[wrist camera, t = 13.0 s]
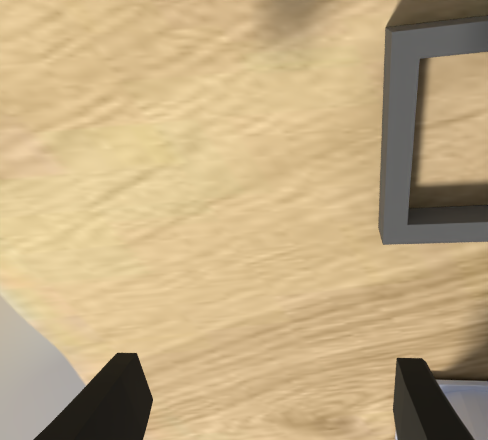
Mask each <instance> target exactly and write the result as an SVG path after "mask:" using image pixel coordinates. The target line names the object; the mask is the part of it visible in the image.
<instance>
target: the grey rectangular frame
mask: <svg viewBox="0 0 488 440" xmlns="http://www.w3.org/2000/svg"><path fill="white" fill-rule="evenodd" d="M479 52H488V15H486V16H478V17H470V18H461V19H453V20H444V21H436V22H427V23H419V24H411V25H402V26H394V27H386V30H385V58H384V87H383V115H382V143H381V171H380V199H379V227H378V228H379V232H380V235H381V239H382V243H383V245H386V244H421V243H456V242H488V205H478V206H455V207H432V208H409V196H410V182H411V169H412V155H413V142H414V129H415V115H416V102H417V88H418V75H419V61H420V59H421V58H431V57H440V56H450V55H459V54H469V53H479Z"/></svg>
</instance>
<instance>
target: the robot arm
mask: <svg viewBox="0 0 488 440" xmlns="http://www.w3.org/2000/svg"><path fill="white" fill-rule="evenodd" d="M152 402H153V398H152V395H151V392H150V389H149V386H148V384H147V381H146V378H145V375H144V372H143V369H142V367H141V364H140V361H139V358H138V355H137V353H117V354H116V355H115V356H114V357H113V358H112V359H111V360H110V361H109V362H108V363H107V364H106V365H105V366H104V367H103V368H102V370H101V371H100V372H99V373H98V374H97V375H96V376H95V377H94V378H93V379H92V380H91V381H90V382H89V384H88V385H87V386H86V387H85V388H84V389H83V390H82V391H81V392H80V393H79V394H78V395H77V396H76V397H75V398H74V399H73V401H72V402H71V403H70V404H69V405H68V406H67V407H66V408H65V409H64V410H63V411H62V412H61V413H60V414H59V415H58V416H57V417H56V418H55V419H54V420H53V421H52V422H51V423H50V424H49V425H48V426H47V427H46V428H45V429H44V430H43V431H42V432H41V433H40V434H39V435H38V436H37V437H36V438H35V439H34V440H143V437H144V434H145V430H146V427H147V423H148V419H149V415H150V411H151V406H152ZM393 412H394V420H395V427H396V431H395V440H488V381H469V380H436V379H435V378H434V376H433V374H432V372H431V371H430V369H429V367H428V365H427V363H426V362H425V361H424V360H423V359H422V358H397V362H396V376H395V389H394V403H393Z"/></svg>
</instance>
